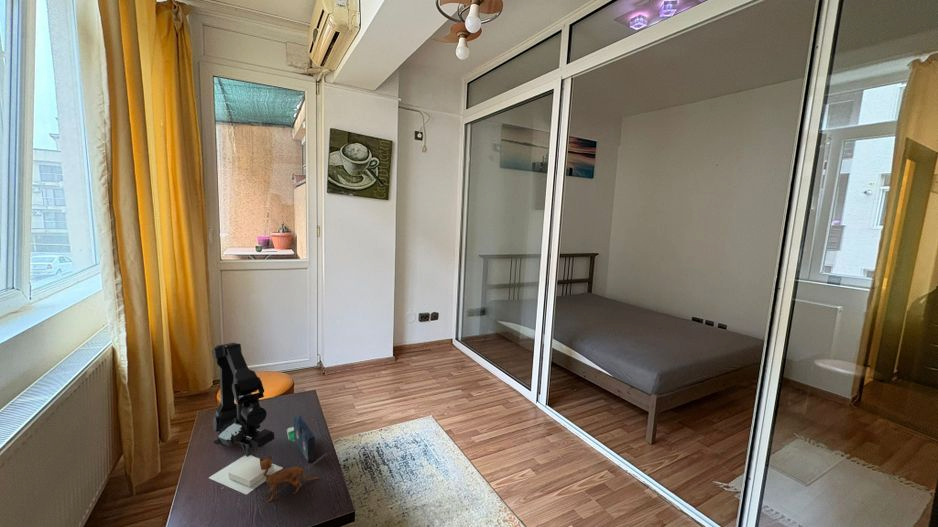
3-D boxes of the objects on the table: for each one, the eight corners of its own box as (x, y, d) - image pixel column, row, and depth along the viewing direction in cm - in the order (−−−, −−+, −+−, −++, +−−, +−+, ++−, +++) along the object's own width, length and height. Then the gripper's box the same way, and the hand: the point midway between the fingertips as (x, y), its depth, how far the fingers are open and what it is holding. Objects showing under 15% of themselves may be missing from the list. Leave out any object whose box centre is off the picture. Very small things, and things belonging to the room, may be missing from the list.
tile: (228, 472, 122) (249, 481, 118) (253, 456, 130) (273, 464, 126) (228, 478, 122) (249, 487, 118) (253, 462, 130) (273, 470, 127)
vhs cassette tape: (314, 462, 133) (314, 436, 132) (306, 465, 131) (306, 439, 130) (301, 437, 147) (301, 414, 146) (293, 440, 145) (293, 416, 144)
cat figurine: (315, 475, 127) (317, 438, 126) (321, 486, 122) (323, 447, 121) (257, 494, 116) (258, 454, 115) (260, 507, 111) (261, 465, 110)
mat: (208, 479, 122) (208, 477, 122) (247, 455, 135) (247, 453, 135) (246, 496, 115) (246, 494, 115) (283, 469, 128) (283, 467, 128)
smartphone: (304, 424, 156) (310, 442, 144) (304, 425, 156) (310, 444, 144) (286, 428, 152) (290, 447, 140) (286, 430, 152) (290, 449, 140)
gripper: (203, 417, 118) (205, 462, 120) (244, 432, 111) (245, 479, 113) (236, 402, 128) (237, 443, 130) (275, 414, 122) (276, 458, 123)
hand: (248, 455), depth 124 cm, fingers closed
